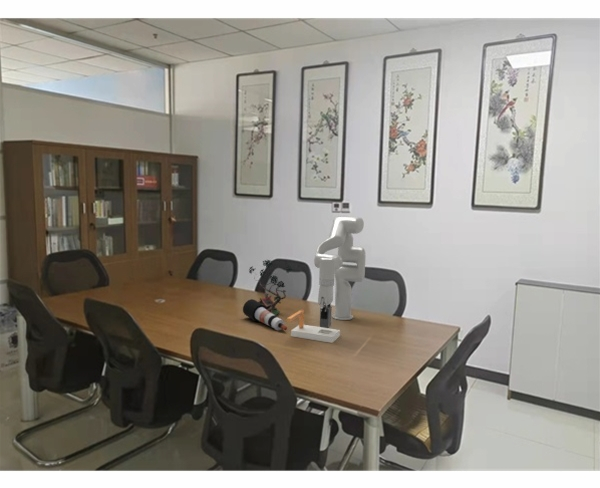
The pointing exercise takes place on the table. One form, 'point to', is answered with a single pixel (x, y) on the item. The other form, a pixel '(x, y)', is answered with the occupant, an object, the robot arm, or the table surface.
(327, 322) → the plug
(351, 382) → the table surface
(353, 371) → the table surface
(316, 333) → the socket block
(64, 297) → the table surface
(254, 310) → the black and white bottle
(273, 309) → the bonsai tree
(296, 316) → the orange piece
